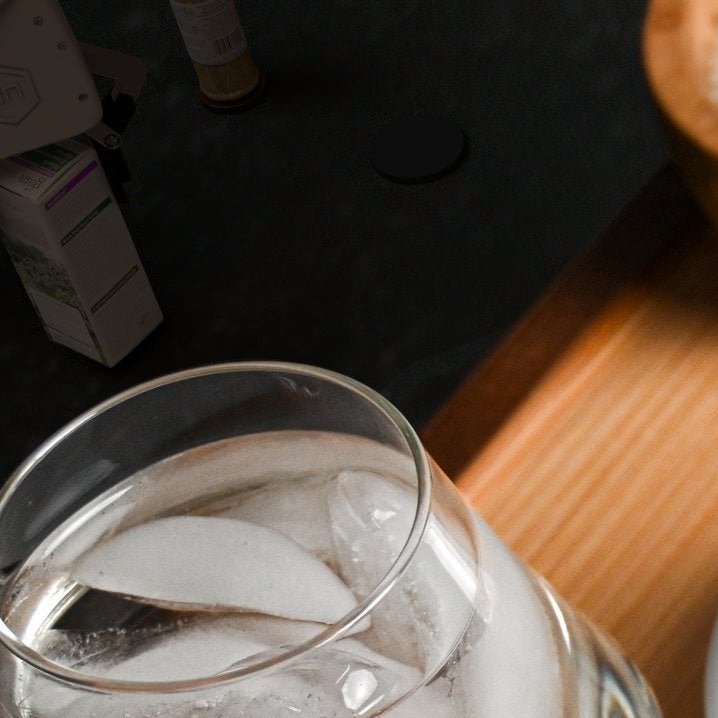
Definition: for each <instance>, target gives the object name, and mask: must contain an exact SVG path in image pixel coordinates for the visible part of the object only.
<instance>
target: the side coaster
mask: <svg viewBox="0 0 718 718" xmlns="http://www.w3.org/2000/svg"><path fill="white" fill-rule="evenodd" d="M466 147H467V145H466V140H465V136H464V133H463V130H462V129H461V128H460V127H459V126H458V125H457V124H456V123H455V122H454V121H452V120H451V119H449V118H446V117H444V116H440V115H436V114H428V113H427V114H426V113H424V114H422V113H421V114H413V115H408V116H403V117H400V118H398V119H395V120H393V121H391V122H389V123H388V124H386V125H385V126H383V127H382V128H380V129H379V131H377V132H376V134H374V136H373V138H372V140H371V141H370V144H369V149H368V156H369V159H370V163H371V165H372V167H373V169H374V170H375V172H377V174H378V175H380V176H381V177H382V178H384V179H386V180H389V181H391V182H394V183H399V184H403V185H417V184H418V185H419V184H424V183H428V182H433V181H435V180H438V179H440V178H442V177H444V176H446V175H448V174H449V173H451V172H452V171H453V170H455V169H456V168H457V166H459V164H460V163H461V161H462V160H463V159H464V157H465V154H466V149H467V148H466Z"/></svg>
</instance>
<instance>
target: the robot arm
mask: <svg viewBox="0 0 718 718" xmlns="http://www.w3.org/2000/svg"><path fill="white" fill-rule="evenodd" d="M92 74H93V75H95V76H101V77H104V78H108V79H111V80H114V84H113V85H112V86H111V87H110V88H109V90H108V91H107V93H106V95H105V97H104V98H103V100H101V97H100V94H99V91H98V89H97V85H96V83H95V80H94V77H93V75H92ZM147 78H148V73H147V70H146V68H145V65H144V64H143V62H142V60H141V59H140V58H139V57H138V56H134V55H131V54H127V53H124V52H120V51H116V50H114V49H109V48H107V47H103V46H99V45H95V44H92V43H89V42H86V41H81V40H78V39H77V38H76V36H75V34H74V31H73V29H72V27H71V24H70V22H69V20H68V18H67V16H66V14H65V11H64V10H63V8H62V6H61V4H60V2H59V0H0V160H1V159H4V158H7V157H11V156H14V155H17V154H20V153H24V152H27V151H30V150H33V149H37V148H40V147H43V146H46V145H49V144H52V143H56V142H59V141H62V140H65V139H68V138H71V139H72V138H73V137H74V138H75V137H76V136H80V135H82V134H84V133H85V135H87V136H88V137H89V139H90V141H91V143H92V147H93V148H94V149H96V151H97V154H98V156H99V159H100V161H101V164H102V166H103V169H104V171H105V174H106V176H107V179H108V181H109V184H110V186H111V189H112V191H113V194H114V196H115V199H116V201H117V203H118V205H119V204H120V205H121V206H123V205H125V204H129V203H130V201H129V197H128V195H127V191H126V190H125V188H124V185H123V184H124V183H127V182H131V181H133V178H132V176H131V173H130V170H129V167H128V165H127V162H126V160H125V157H124V155H123V152H122V149H121V145H122V144H123V138H122V135H123V133H124V131H125V130H126V128H127V126H128V124H129V122H130V121H131V119H132V118H133V116H134V114H135V112H136V110H137V105H136V103H137V100H138V99H139V98H140V96H141V93H142V90H143V88H144V86H145V82H146V81H147ZM0 242H2V239H0Z"/></svg>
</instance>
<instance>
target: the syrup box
mask: <svg viewBox="0 0 718 718" xmlns="http://www.w3.org/2000/svg"><path fill="white" fill-rule="evenodd" d="M0 240H1V242H2V243H3V244H4V247H5V249H6V251H7V253H8V255H9V258H10V260H11V262H12V265H13V266H14V269H15V271H16V272H17V274H18V277H19V279H20V281H21V283H22V286H23V287H24V289H25V292H26V294H27V296H28V298H29V299H30V302H31V304H32V307H33V308H34V310H35V312H36V315H37V316H38V318H39V321H40V323H41V326H42V327H43V329H44V331H45V333H46V336H47V338H48V340H49V341H51V342H53V343H55V344H57V345H59V346H61V347H64V348H66V349H68V350H70V351H72V352H74V353H77V354H79V355H81V356H83V357H85V358H88V359H90V360H92V361H94V362H96V363H99V364H100V365H102V366H104V367H106V368H107V367H108V369H109V368H110V369H111V368H113V367H115V366H116V365H118V363H119V362H121V361H122V360H123V359H124V358H125V357H126V356H128V355H129V354H130V353H131V352H132V351H133V350H134V349H135V348H136V347H137V346H138V345H139V344H141V342H143V340H145V338H147V336H149V335H150V334H151V333H152V332H153V331H154V330H155V329H156V328H157V327H158V326H159V325H160V324H161V323H163V321H164V314H163V312H162V310H161V307H160V305H159V302H158V300H157V298H156V295H155V292H154V290H153V287H152V286H151V283H150V281H149V278H148V276H147V275H148V274H147V273H146V270H145V268H144V266H143V265H144V264H143V263H142V261H141V258H140V256H139V253H138V249H136V246H135V243H134V240H133V239H132V236H131V233H130V231H129V228H128V226H127V224H126V221H125V219H124V216H123V213H122V211H121V209H120V206H119V204H118V203H117V201H116V199H115V196H114V194H113V191H112V189H111V186H110V184H109V181H108V179H107V176H106V174H105V171H104V169H103V166H102V164H101V161H100V159H99V156H98V154H97V151H96V149H94V146H91V145H90V146H89V144H88V145H87V144H85V143H83V142H81V141H78V140H76V139H74V138H72V137H71V138H68V139H65V140H62V141H59V142H56V143H52V144H49V145H46V146H43V147H40V148H37V149H33V150H30V151H27V152H24V153H20V154H17V155H14V156H11V157H7V158H4V159H1V160H0Z"/></svg>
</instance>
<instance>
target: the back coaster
mask: <svg viewBox="0 0 718 718" xmlns="http://www.w3.org/2000/svg"><path fill="white" fill-rule="evenodd" d="M255 67H256V68H257V70H258V72H259V82H258V85H257V86H256V88H255V89H254V90H253V91H252V92H251V93H249V94H248V95H247V96H245V97H243V98H240V99H238V100H234V101H215V100H213V99H210V98H208V97H207V96H206V95H205V94H204V93H203V92H202V91H201V88H200V82H198V85H197V96H198V99H199V101H200V103H201V106H203V107H204V109H206V110H209V112H210V111H211V112H213V113H216V114H223V115H228V114H230V115H231V114H238V113H242V112H245V111H247V110H250V109H252V108H254V107H255V106H257V105H258V104H259V103H261V102H262V101H263V100H264V98H265V97H266V95H267V93H268V90H269V83H268V80H267V77H266V75H265V72H263V71H262V70H261V69H260V68H259V67H257V66H255Z"/></svg>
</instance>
